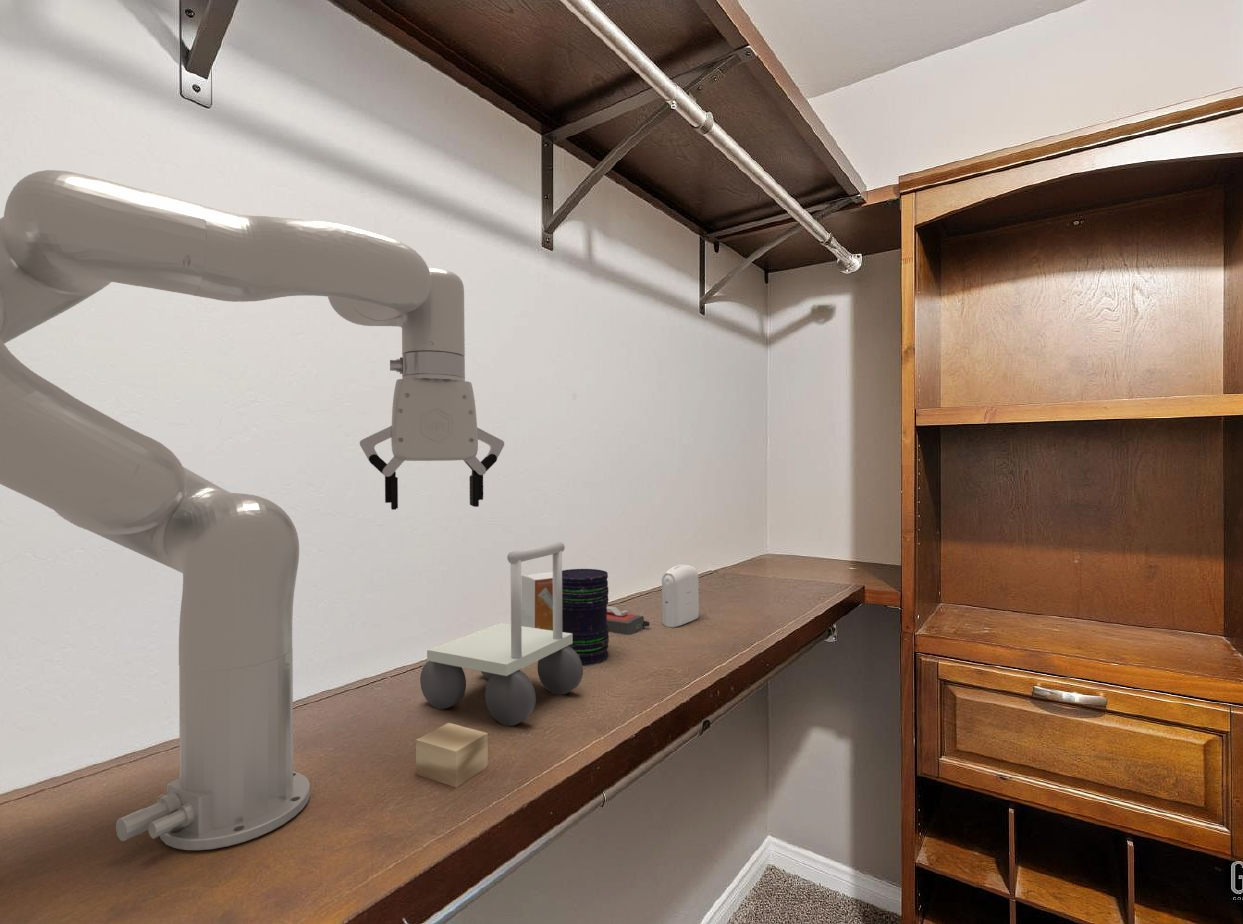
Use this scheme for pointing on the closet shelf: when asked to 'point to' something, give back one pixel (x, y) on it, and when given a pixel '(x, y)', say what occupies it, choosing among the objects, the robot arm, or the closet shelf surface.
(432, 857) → the closet shelf surface
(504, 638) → the trolley
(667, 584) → the photo printer
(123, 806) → the closet shelf surface
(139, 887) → the closet shelf surface
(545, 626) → the small box
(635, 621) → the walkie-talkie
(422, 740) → the block
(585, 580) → the dark blue cylinder
